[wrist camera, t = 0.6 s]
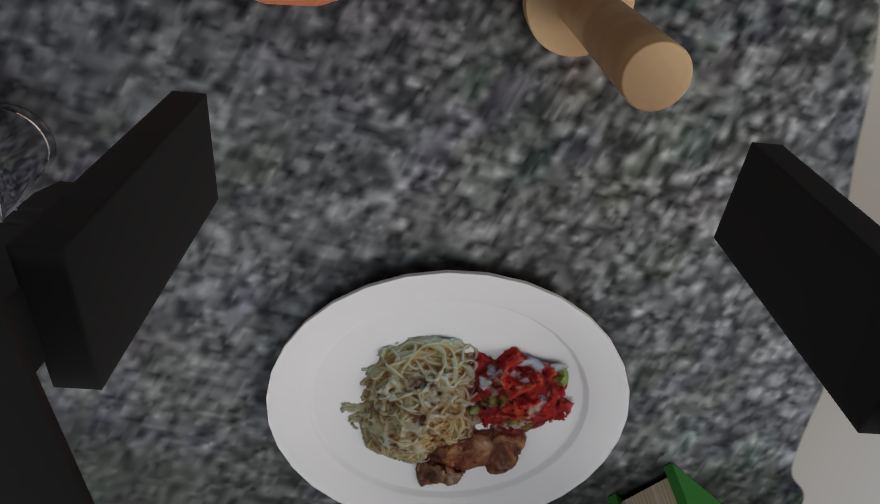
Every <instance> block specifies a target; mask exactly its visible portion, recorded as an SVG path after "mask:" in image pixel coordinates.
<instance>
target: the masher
mask: <svg viewBox="0 0 880 504" xmlns="http://www.w3.org/2000/svg"><path fill="white" fill-rule="evenodd" d="M634 2H635V0H523V12H524V16H525V19H526V22H527V24H528V26H529V28H530V30H531V32H532V33H533V35H534V36H535V38H536V39H537V41H538V42H539V43H540V44H541V45H542V46H544V47H545V48H546V49H548V50H549V51H551V52H553V53H555V54H558V55H561V56H566V57H581V56H587V55H590V56H591V57H592V58H593V59H594V61H595V62H596V63H597V64H598V66H599V67H600V68H601V69H602V71H603V72H604V73H605V74H606V76H607V77H608V78H609V79H610V81H611V82H612V83H613V84H614V86H615V87H616V88H617V89H618V91H619V92H620V93H621V95H622V96H623V97H624V98H625V100H626V101H627V102H628V103H629V104H630V105H631V106H633V107H634V108H636V109H639V110H642V111H658V110H661V109H664V108H667V107H669V106H671V105H672V104H674V103H675V102H676V101H678V100H679V99H680V98H681V97H682V96H683V94H684V93H685V92H686V90H687V88H688V86H689V84H690V82H691V78H692V73H693V66H692V61H691V58H690V55H689V54H688V52H687V51H686V50H685V49H684V48H683V47H682V46H681V45H679V44H678V43H677V42H675V41H674V40H673V39H672V38H670V37H669V36H668V35H666V34H665V33H664V32H662V31H661V30H660V29H658V28H657V27H656V26H655V25H653V24H652V23H651V22H649V21H648V20H647V19H645V18H644V17H643V16H642V15H640V14H639V13H638V12H636V11H635V10H634V9H633V7H634Z"/></svg>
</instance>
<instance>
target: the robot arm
mask: <svg viewBox="0 0 880 504" xmlns="http://www.w3.org/2000/svg"><path fill="white" fill-rule="evenodd" d="M217 200H218V193H217V184H216V176H215V167H214V158H213V149H212V140H211V131H210V123H209V114H208V105H207V96H206V94H202V93H191V92H179V91H172V92H171V93H170V94H168V95H167V96H166V97H165V98H164V99H163V100H162V101H161V102H160V103H159V104H158V105H157V106H156V107H154V108H153V109H152V110H151V111H150V112H149V113H148V114H147V115H146V116H145V117H144V118H143V119H141V120H140V121H139V122H138V123H137V124H136V125H135V126H134V127H133V128H132V129H131V130H130V131H129V132H127V133H126V134H125V135H124V136H123V137H122V138H121V139H120V140H119V141H118V142H117V143H116V144H115V145H113V146H112V147H111V148H110V149H109V150H108V151H107V152H106V153H105V154H104V155H103V156H102V157H101V158H99V159H98V160H97V161H96V162H95V163H94V164H93V165H92V166H91V167H90V168H89V169H88V170H86V171H85V172H84V173H83V174H82V175H81V176H80V177H79V178H78V179H77V180H76V181H75V182H62V181H60V182H57V183H55V184H53V185H51V186H49V187H46V188H44V189H42V190H40V191H38V192H35V193H34V194H32V195H31V196H30V197H29V198H28V199H27V200H25V201H24V202H23V203H22V204H21V205H20V206H19V207H17V211H13V212H12V213H10V214H9V215H8V216H7V217H6V218H5V219H3V223H0V504H94V502H93V499H92V497H91V495H90V493H89V490H88V488H87V486H86V484H85V482H84V479H83V477H82V475H81V473H80V470H79V468H78V466H77V464H76V461H75V459H74V457H73V455H72V452H71V450H70V448H69V446H68V443H67V441H66V439H65V437H64V435H63V432H62V430H61V428H60V426H59V423H58V421H57V419H56V417H55V414H54V412H53V410H52V408H51V405H50V403H49V401H48V399H47V396H46V394H45V392H44V390H43V388H42V385H41V383H40V381H39V379H38V376H37V374H36V371H37V370H38V369H39V367H40V366H41V365H42V363H43V362H44V361H45V363H46V366H47V369H48V372H49V375H50V378H51V381H52V384H53V386H54V387H63V388H81V389H99V390H102V389H103V387H104V385H105V384H106V382H107V380H108V379H109V377H110V375H111V374H112V372H113V371H114V369H115V367H116V366H117V364H118V362H119V361H120V359H121V357H122V356H123V354H124V352H125V351H126V349H127V348H128V346H129V344H130V343H131V341H132V339H133V338H134V336H135V334H136V333H137V331H138V330H139V328H140V326H141V325H142V323H143V321H144V320H145V318H146V316H147V315H148V313H149V311H150V310H151V308H152V307H153V305H154V303H155V302H156V300H157V298H158V297H159V295H160V293H161V292H162V290H163V289H164V287H165V285H166V284H167V282H168V280H169V279H170V277H171V275H172V274H173V272H174V270H175V269H176V267H177V266H178V264H179V262H180V261H181V259H182V257H183V256H184V254H185V252H186V251H187V249H188V248H189V246H190V244H191V243H192V241H193V239H194V238H195V236H196V234H197V233H198V231H199V229H200V228H201V226H202V225H203V223H204V221H205V220H206V218H207V216H208V215H209V213H210V211H211V210H212V208H213V207H214V205H215V203H216V202H217ZM714 238H715V240H716V241H717V242H718V244H719V245H720V246H721V248H722V249H723V251H724V252H725V253H726V255H727V256H728V257H729V259H730V260H731V261H732V263H733V264H734V265H735V267H736V268H737V269H738V271H739V272H740V274H741V275H742V276H743V278H744V279H745V280H746V282H747V283H748V284H749V286H750V287H751V288H752V290H753V291H754V292H755V294H756V295H757V297H758V298H759V299H760V301H761V302H762V303H763V305H764V306H765V307H766V309H767V310H768V311H769V313H770V314H771V315H772V317H773V318H774V320H775V321H776V322H777V324H778V325H779V326H780V328H781V329H782V330H783V332H784V333H785V334H786V336H787V337H788V338H789V340H790V341H791V343H792V344H793V345H794V347H795V348H796V349H797V351H798V352H799V353H800V355H801V356H802V357H803V359H804V360H805V361H806V363H807V364H808V366H809V367H810V368H811V370H812V371H813V372H814V374H815V375H816V376H817V378H818V379H819V380H820V382H821V383H822V384H823V386H824V387H825V389H826V390H827V391H828V393H829V394H830V395H831V396H832V398H833V399H834V401H835V402H836V403H837V405H838V406H839V407H840V409H841V410H842V411H843V413H844V414H845V416H846V417H847V418H848V419H849V421H850V422H851V424H852V425H853V426H854V428H855V429H856V430H857V432H858V433H872V434H880V226H879V225H878V224H877V223H875V222H874V221H873V220H872V219H871V218H870V217H868V216H867V215H866V214H865V213H864V212H862V211H861V210H860V209H859V208H858V207H856V206H855V205H854V204H853V203H852V202H850V201H849V200H848V199H847V198H845V197H844V196H843V195H842V194H841V193H839V192H838V191H837V190H836V189H835V188H833V187H832V186H831V185H830V184H829V183H827V182H826V181H825V180H824V179H823V178H821V177H820V176H819V175H818V174H817V173H815V172H814V171H813V170H812V169H810V168H809V167H808V166H807V165H806V164H804V163H803V162H802V161H801V160H800V159H798V158H797V157H796V156H795V155H794V154H792V153H791V152H790V151H789V150H788V149H786V148H785V147H784V146H783V145H778V144H766V143H755V142H752V144H751V146H750V149H749V151H748V154H747V156H746V159H745V161H744V164H743V166H742V169H741V171H740V174H739V176H738V179H737V181H736V184H735V186H734V189H733V191H732V193H731V196H730V198H729V201H728V203H727V206H726V208H725V211H724V213H723V216H722V218H721V221H720V223H719V226H718V228H717V231H716V233H715V236H714Z"/></svg>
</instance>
